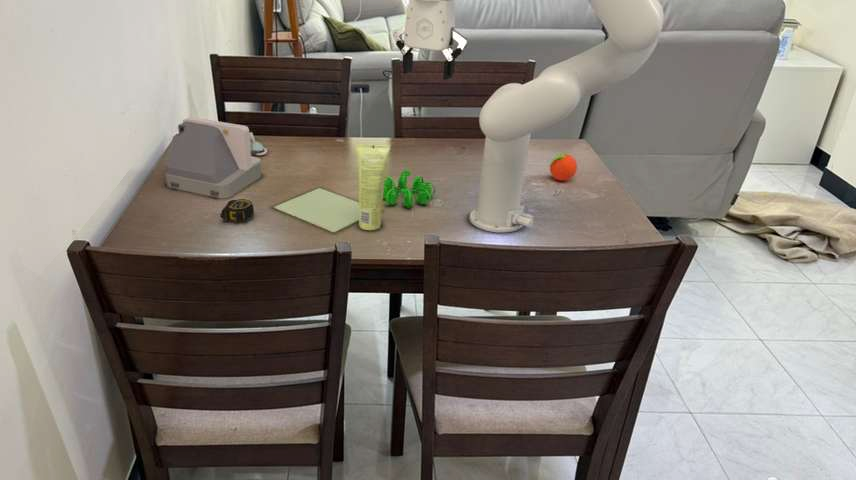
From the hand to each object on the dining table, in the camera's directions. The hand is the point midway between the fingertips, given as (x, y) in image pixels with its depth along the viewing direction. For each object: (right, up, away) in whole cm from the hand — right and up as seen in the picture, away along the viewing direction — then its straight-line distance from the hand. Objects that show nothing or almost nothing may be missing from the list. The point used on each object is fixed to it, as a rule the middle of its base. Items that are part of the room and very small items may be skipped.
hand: (427, 75), depth 148 cm
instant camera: (-53, -19, +30) cm, 64 cm away
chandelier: (-3, -25, +21) cm, 33 cm away
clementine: (+39, -18, +33) cm, 54 cm away
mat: (-23, -28, +15) cm, 39 cm away
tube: (-12, -33, +7) cm, 36 cm away
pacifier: (-44, -8, +48) cm, 66 cm away
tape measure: (-44, -31, +10) cm, 54 cm away
